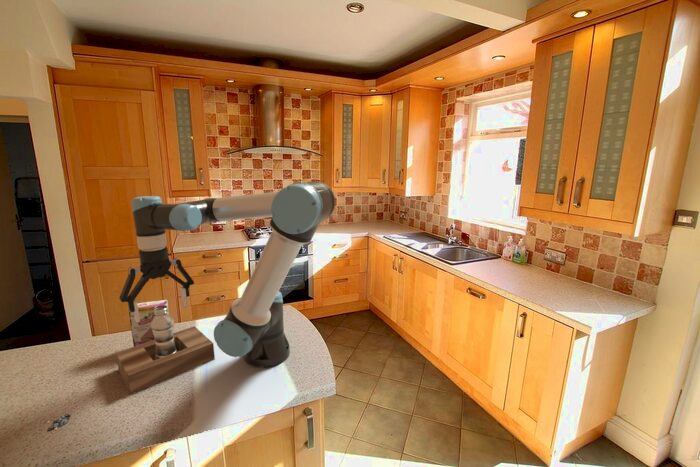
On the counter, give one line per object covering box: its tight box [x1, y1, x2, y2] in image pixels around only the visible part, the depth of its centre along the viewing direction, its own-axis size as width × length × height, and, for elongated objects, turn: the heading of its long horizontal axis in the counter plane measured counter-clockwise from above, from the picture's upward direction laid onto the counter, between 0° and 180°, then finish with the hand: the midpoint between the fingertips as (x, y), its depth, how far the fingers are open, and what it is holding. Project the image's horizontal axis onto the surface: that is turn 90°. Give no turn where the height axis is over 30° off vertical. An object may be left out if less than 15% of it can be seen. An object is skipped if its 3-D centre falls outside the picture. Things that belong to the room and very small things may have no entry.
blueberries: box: [46, 413, 71, 432], centre depth 83 cm, size 7×8×2 cm
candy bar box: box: [128, 299, 170, 347], centre depth 116 cm, size 11×5×16 cm, turn 111°
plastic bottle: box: [151, 305, 177, 360], centre depth 105 cm, size 6×7×20 cm
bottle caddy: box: [115, 326, 216, 395], centre depth 107 cm, size 16×24×6 cm, turn 136°
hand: (162, 313), depth 103 cm, fingers open, 13 cm apart
